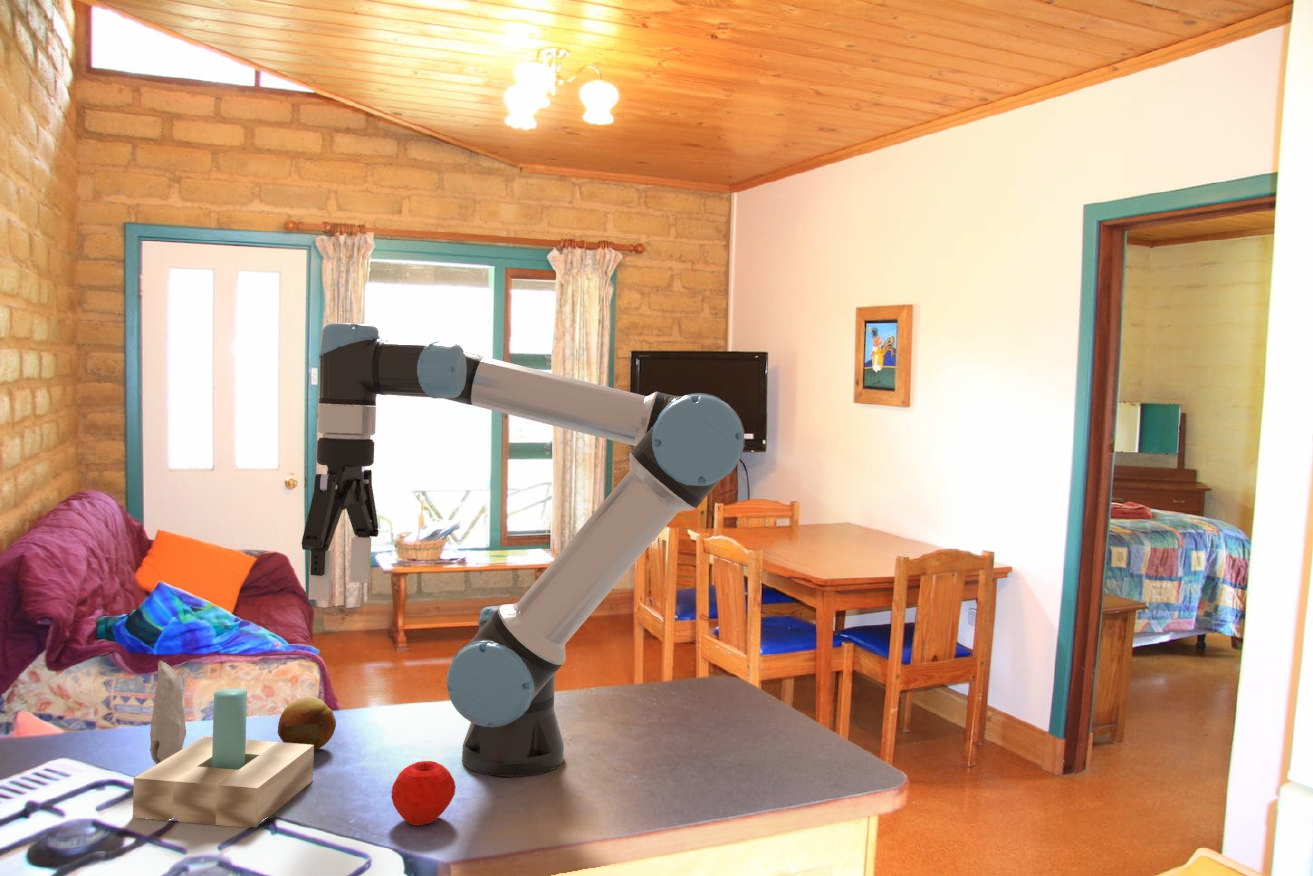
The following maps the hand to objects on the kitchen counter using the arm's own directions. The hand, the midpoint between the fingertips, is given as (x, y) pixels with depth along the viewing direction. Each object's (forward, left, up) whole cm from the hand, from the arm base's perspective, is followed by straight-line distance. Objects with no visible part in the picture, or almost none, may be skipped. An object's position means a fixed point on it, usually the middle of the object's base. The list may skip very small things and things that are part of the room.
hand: (340, 590), depth 136 cm
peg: (+11, +8, -27) cm, 30 cm away
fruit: (+9, -11, -27) cm, 30 cm away
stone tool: (+25, -1, -27) cm, 37 cm away
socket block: (+11, +8, -27) cm, 30 cm away
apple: (-16, +10, -27) cm, 33 cm away
